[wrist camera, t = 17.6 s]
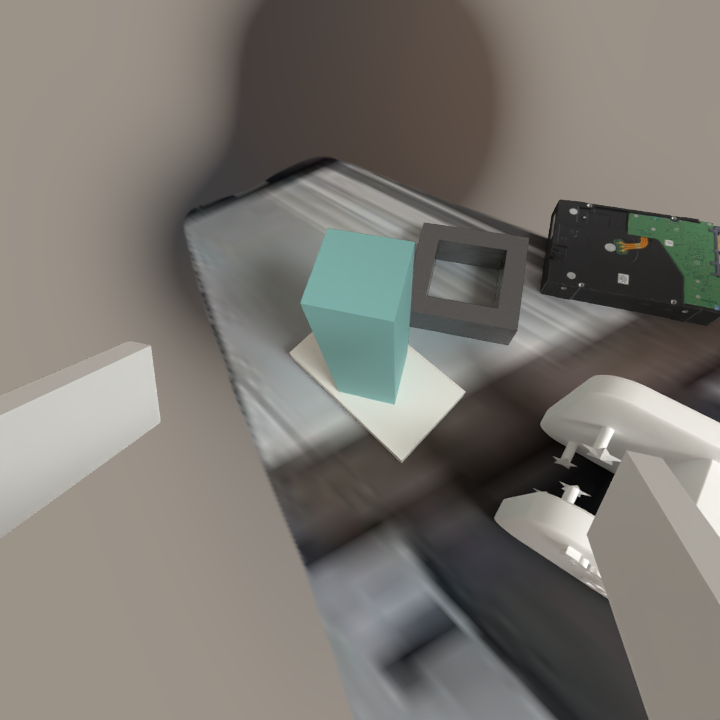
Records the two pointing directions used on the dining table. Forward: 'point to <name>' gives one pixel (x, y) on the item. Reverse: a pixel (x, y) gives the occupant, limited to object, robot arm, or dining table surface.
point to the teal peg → (362, 310)
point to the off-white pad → (383, 420)
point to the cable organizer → (613, 464)
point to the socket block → (472, 250)
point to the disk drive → (634, 261)
